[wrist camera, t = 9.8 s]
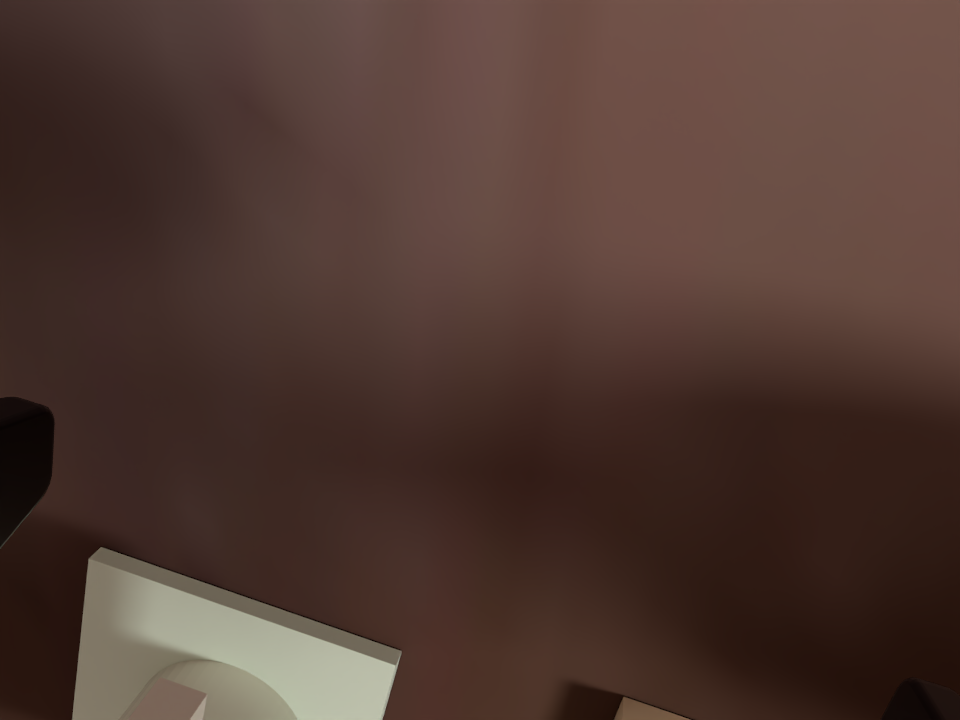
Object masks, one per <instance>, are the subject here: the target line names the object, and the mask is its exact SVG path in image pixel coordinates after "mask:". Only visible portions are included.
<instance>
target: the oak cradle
mask: <svg viewBox="0 0 960 720" xmlns="http://www.w3.org/2000/svg"><path fill="white" fill-rule="evenodd" d="M614 720H690V719H687V718H685V717H682V716H679V715H676V714H673V713H670V712H667V711H664V710H661V709H658V708H655V707H653V706H650V705H647V704H644V703H641V702H638V701H635V700H632V699H629V698H626V697H623V699H622V702H621V704H620V706H619V709H618V711H617V713H616V716H615V718H614Z"/></svg>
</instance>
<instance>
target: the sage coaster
mask: <svg viewBox="0 0 960 720" xmlns="http://www.w3.org/2000/svg"><path fill="white" fill-rule="evenodd" d="M401 652H402V651H400V650H397V649H394V648H391V647H388V646H385V645H382V644H380V643H377V642H374V641H371V640H368V639H365V638H362V637H359V636H357V635H354V634H351V633H348V632H345V631H342V630H339V629H336V628H333V627H331V626H328V625H325V624H322V623H319V622H316V621H313V620H310V619H308V618H305V617H302V616H299V615H296V614H293V613H290V612H287V611H284V610H282V609H279V608H276V607H273V606H270V605H267V604H264V603H261V602H259V601H256V600H253V599H250V598H247V597H244V596H241V595H238V594H235V593H233V592H230V591H227V590H224V589H221V588H218V587H215V586H212V585H210V584H207V583H204V582H201V581H198V580H195V579H192V578H189V577H186V576H184V575H181V574H178V573H175V572H172V571H169V570H166V569H163V568H161V567H158V566H155V565H152V564H149V563H146V562H143V561H140V560H137V559H135V558H132V557H129V556H126V555H123V554H120V553H117V552H114V551H112V550H109V549H106V548H103V547H100V548H99V549H98V550H97V551H96V552H95V553H94V554H93V555H92V556H91V557H90V558H89V560H88V570H87V580H86V589H85V599H84V609H83V619H82V628H81V638H80V648H79V658H78V667H77V677H76V687H75V696H74V706H73V716H72V720H119V718H120V717H121V716H122V714H123V713H124V712H125V711H126V709H127V708H128V707H129V705H130V704H131V703H132V702H133V700H134V699H135V698H136V696H137V695H138V694H139V693H140V691H141V690H142V689H143V687H144V686H145V685H146V684H147V682H148V681H149V680H150V679H151V678H152V677H153V676H154V675H155V674H156V673H158V672H159V671H160V670H162V669H164V668H166V667H168V666H169V665H172V664H175V663H178V662H183V661H188V660H211V661H216V662H222V663H225V664H229V665H232V666H235V667H238V668H240V669H243V670H245V671H247V672H249V673H251V674H252V675H254V676H256V677H258V678H259V679H261V680H262V681H264V682H265V683H266V684H268V685H269V686H270V687H271V688H273V689H274V690H275V691H276V692H277V693H278V694H279V695H280V696H281V697H282V698H283V699H284V700H285V702H286V703H287V704H288V705H289V707H290V708H291V709H292V711H293V713H294V714H295V716H296V717H297V720H382V719H383V716H384V712H385V709H386V705H387V702H388V698H389V695H390V691H391V688H392V684H393V681H394V677H395V673H396V670H397V666H398V663H399V659H400V656H401Z"/></svg>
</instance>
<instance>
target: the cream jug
mask: <svg viewBox="0 0 960 720" xmlns="http://www.w3.org/2000/svg"><path fill="white" fill-rule="evenodd" d="M119 720H297V717H296V716H295V714H294V713H293V711H292V709H291V708H290V707H289V705H288V704H287V703H286V702H285V700H284V699H283V698H282V697H281V696H280V695H279V694H278V693H277V692H276V691H275V690H274V689H273V688H271V687H270V686H269V685H268V684H266V683H265V682H264V681H262V680H261V679H259V678H258V677H256V676H254V675H252V674H251V673H249V672H247V671H245V670H243V669H240V668H238V667H235V666H232V665H229V664H225V663H222V662H216V661H211V660H188V661H183V662H178V663H175V664H172V665H169V666H168V667H166V668H164V669H162V670H160V671H159V672H158V673H156V674H155V675H154V676H153V677H152V678H151V679H150V680H149V681H148V682H147V684H146V685H145V686H144V687H143V689H142V690H141V691H140V693H139V694H138V695H137V696H136V698H135V699H134V700H133V702H132V703H131V704H130V705H129V707H128V708H127V709H126V711H125V712H124V713H123V714H122V716H121V717H120V718H119Z"/></svg>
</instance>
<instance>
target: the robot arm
mask: <svg viewBox="0 0 960 720" xmlns="http://www.w3.org/2000/svg"><path fill="white" fill-rule="evenodd" d="M54 425H55V424H54V416H53V413H52V412H51V410H50V409H49V408H48V407H46V406H44V405H41V404H37V403H34V402H31V401H28V400H25V399H21V398H18V397H5V398H0V549H1V547H2V546H3V545H4V544H5V542H6V541H7V540H8V539H9V538H10V536H11V535H12V534H13V533H14V532H15V530H16V529H17V528H18V527H19V525H20V524H21V523H22V522H23V521H24V519H25V518H26V517H27V516H28V515H29V513H30V512H31V511H32V510H33V508H34V507H35V506H36V505H37V504H38V502H39V501H40V500H41V499H42V497H43V496H44V494H45V492H46V491H47V489H48V486H49V484H50V481H51V476H52V464H53V444H54ZM881 720H960V696H959V695H958V694H957V693H956V692H955V691H953V690H951V689H949V688H947V687H944V686H941V685H938V684H935V683H931V682H928V681H925V680H922V679H918V678H914V677H912V678H908V679H905V680H904V681H903V682H902V683H901V684H900V685H899V687H898V688H897V690H896V692H895V693H894V695H893V697H892V699H891V701H890V703H889V705H888V707H887V708H886V710H885V712H884V714H883V716H882V718H881Z"/></svg>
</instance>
